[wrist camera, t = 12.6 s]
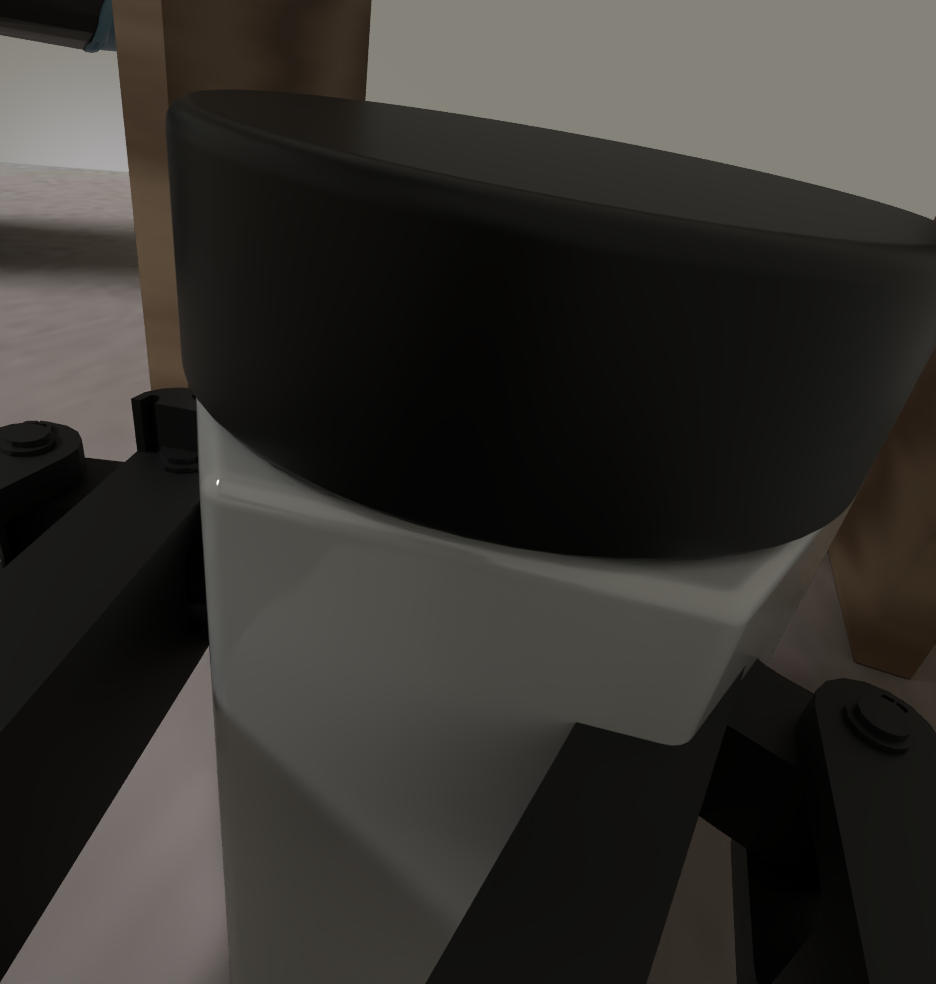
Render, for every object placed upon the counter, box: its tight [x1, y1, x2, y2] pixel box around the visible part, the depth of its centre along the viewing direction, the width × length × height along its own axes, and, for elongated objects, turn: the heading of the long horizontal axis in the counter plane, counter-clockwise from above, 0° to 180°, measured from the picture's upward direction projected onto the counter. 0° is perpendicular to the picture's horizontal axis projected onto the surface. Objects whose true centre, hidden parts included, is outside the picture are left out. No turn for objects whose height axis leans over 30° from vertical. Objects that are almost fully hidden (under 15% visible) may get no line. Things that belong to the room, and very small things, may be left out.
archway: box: [112, 0, 936, 679], centre depth 22 cm, size 12×25×20 cm, turn 71°
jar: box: [165, 89, 936, 984], centre depth 11 cm, size 9×8×12 cm
